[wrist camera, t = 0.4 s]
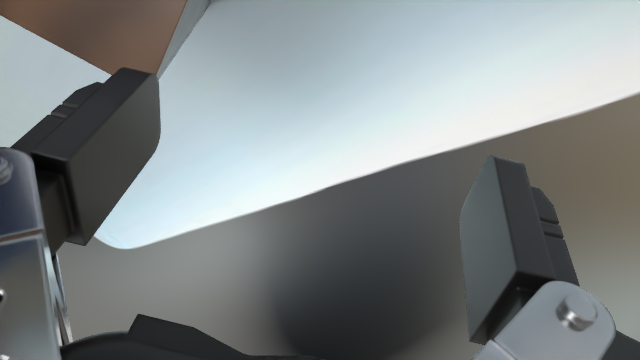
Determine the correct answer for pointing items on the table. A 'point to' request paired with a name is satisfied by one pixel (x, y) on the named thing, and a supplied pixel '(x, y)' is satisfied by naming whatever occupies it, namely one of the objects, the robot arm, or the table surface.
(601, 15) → the table surface
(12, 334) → the robot arm
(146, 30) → the box
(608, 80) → the table surface
